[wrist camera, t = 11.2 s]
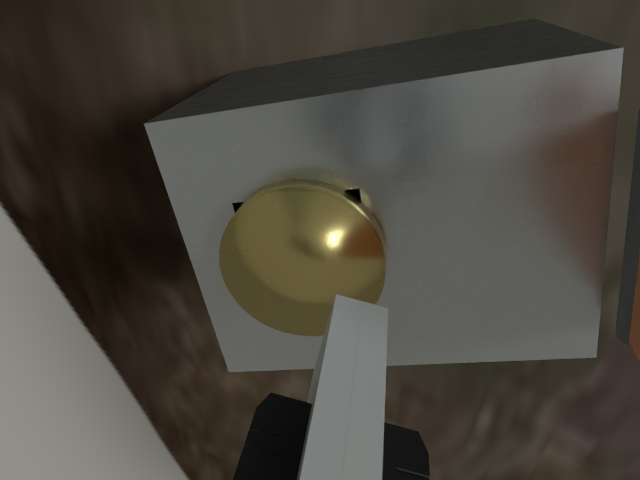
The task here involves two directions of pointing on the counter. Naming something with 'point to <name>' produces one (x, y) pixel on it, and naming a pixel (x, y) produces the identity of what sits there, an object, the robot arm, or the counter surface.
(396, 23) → the counter surface
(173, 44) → the counter surface
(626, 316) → the orange tab
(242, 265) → the brass pin
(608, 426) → the counter surface
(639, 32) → the counter surface
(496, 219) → the block
